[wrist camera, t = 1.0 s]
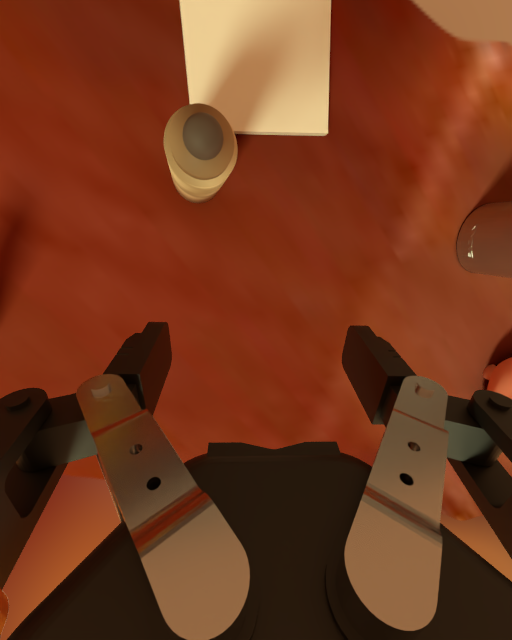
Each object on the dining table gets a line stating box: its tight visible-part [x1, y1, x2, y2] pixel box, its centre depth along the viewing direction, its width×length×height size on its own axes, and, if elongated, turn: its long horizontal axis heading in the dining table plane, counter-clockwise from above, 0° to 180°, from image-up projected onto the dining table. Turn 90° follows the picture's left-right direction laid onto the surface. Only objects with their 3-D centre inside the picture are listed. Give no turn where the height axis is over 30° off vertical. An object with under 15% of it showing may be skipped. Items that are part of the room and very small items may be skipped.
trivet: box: [179, 0, 331, 136], centre depth 27 cm, size 14×14×1 cm
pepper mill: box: [164, 103, 238, 203], centre depth 22 cm, size 5×5×14 cm
